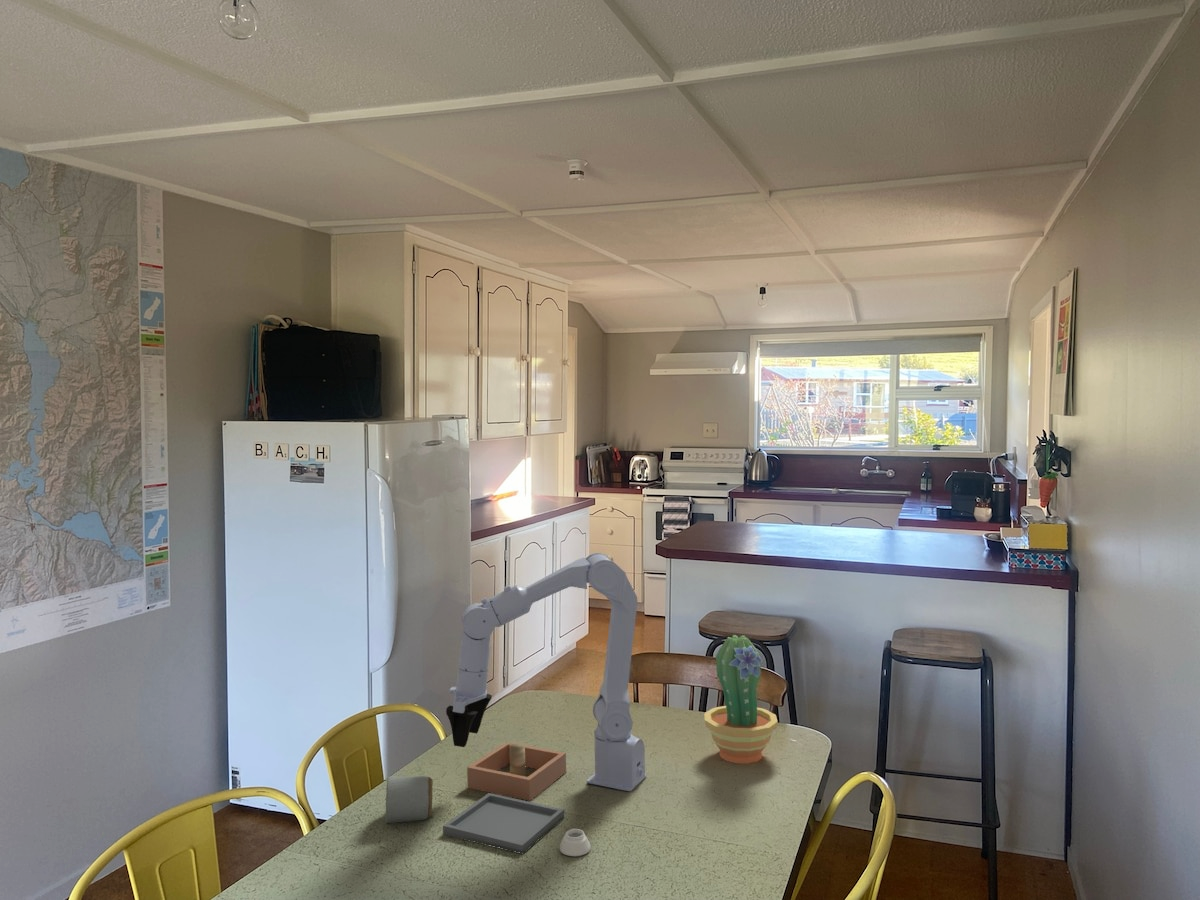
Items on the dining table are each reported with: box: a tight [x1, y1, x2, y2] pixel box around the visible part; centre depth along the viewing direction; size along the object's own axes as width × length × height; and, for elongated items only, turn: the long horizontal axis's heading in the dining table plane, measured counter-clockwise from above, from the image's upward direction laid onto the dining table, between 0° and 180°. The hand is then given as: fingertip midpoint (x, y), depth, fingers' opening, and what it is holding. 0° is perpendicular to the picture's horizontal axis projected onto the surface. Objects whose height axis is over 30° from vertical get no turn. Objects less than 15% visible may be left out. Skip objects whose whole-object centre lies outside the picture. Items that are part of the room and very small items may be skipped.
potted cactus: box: [703, 634, 778, 764], centre depth 177 cm, size 15×15×25 cm
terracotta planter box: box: [466, 741, 567, 802], centre depth 167 cm, size 14×14×4 cm
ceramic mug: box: [385, 775, 434, 824], centre depth 153 cm, size 11×8×8 cm
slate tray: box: [442, 792, 565, 854], centre depth 148 cm, size 16×14×2 cm
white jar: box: [559, 828, 591, 857], centre depth 139 cm, size 5×3×5 cm
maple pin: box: [509, 741, 526, 777], centre depth 167 cm, size 3×3×7 cm
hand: (466, 738), depth 161 cm, fingers open, 7 cm apart
